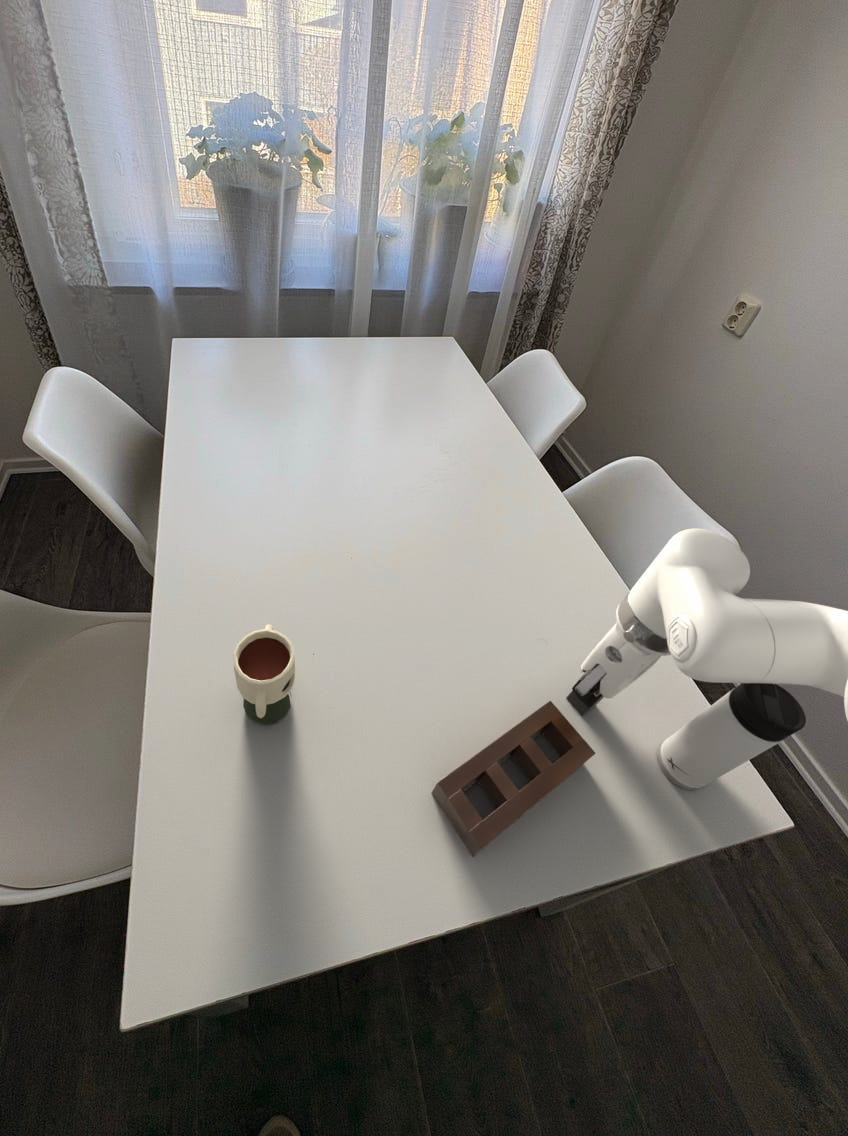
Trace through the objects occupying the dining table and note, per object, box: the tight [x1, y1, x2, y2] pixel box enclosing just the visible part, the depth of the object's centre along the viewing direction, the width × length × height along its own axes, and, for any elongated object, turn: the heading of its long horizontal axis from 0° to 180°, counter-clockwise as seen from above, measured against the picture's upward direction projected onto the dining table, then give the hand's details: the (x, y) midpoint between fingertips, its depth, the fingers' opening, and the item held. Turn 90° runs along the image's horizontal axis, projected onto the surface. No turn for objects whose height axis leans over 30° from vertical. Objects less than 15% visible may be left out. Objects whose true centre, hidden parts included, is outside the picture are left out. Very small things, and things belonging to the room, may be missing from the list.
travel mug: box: [656, 683, 807, 791], centre depth 63 cm, size 6×7×20 cm
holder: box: [431, 700, 596, 857], centre depth 66 cm, size 8×19×4 cm, turn 123°
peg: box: [566, 682, 605, 717], centre depth 72 cm, size 3×3×9 cm
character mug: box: [232, 623, 296, 725], centre depth 66 cm, size 11×7×13 cm, turn 2°
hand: (591, 690), depth 73 cm, fingers closed on peg, 3 cm apart
